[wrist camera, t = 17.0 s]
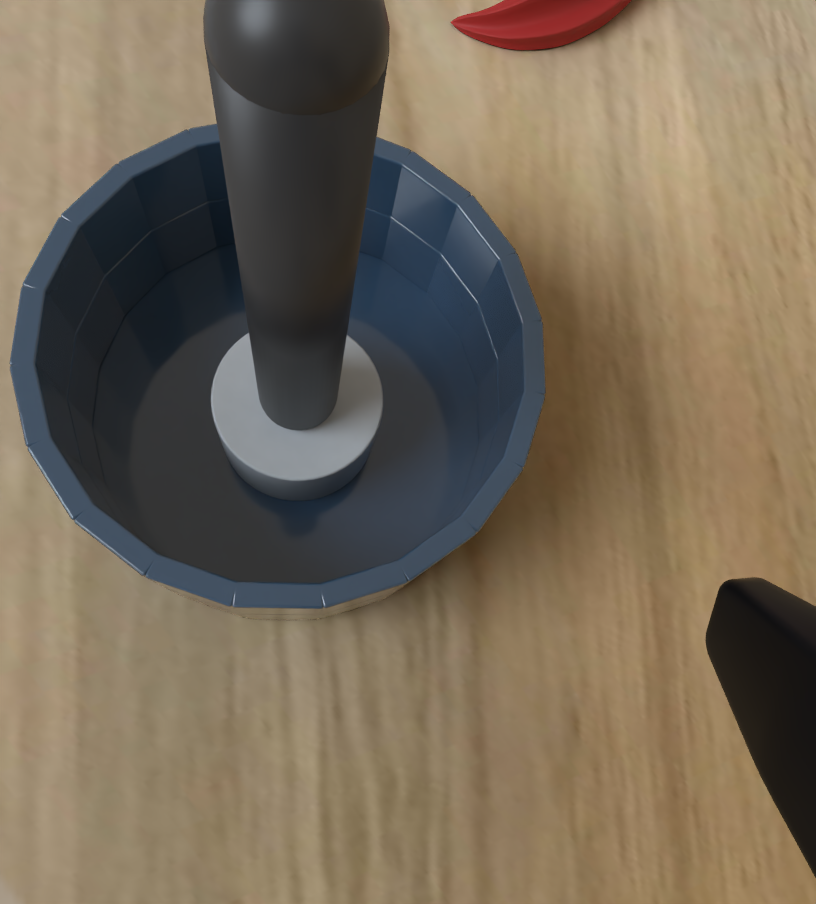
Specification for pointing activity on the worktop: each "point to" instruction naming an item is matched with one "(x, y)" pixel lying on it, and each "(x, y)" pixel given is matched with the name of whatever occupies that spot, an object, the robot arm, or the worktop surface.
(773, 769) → the robot arm
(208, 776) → the worktop surface
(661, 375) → the worktop surface
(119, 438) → the bowl
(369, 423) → the joystick
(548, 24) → the cayenne pepper
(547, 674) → the worktop surface
